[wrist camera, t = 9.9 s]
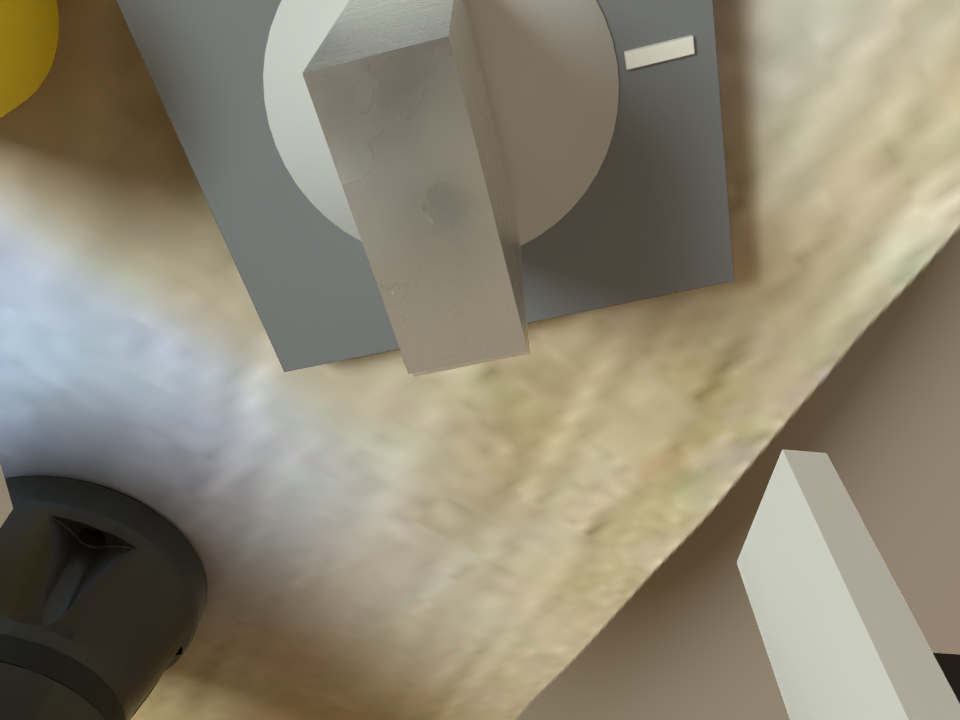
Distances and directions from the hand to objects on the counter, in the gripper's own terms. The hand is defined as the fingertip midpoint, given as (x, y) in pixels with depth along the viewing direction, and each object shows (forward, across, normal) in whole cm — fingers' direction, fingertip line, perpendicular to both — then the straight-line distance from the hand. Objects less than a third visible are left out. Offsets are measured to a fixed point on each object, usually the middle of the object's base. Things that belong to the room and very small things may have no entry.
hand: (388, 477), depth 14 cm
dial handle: (+20, 0, 0) cm, 20 cm away
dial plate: (+23, 0, 0) cm, 23 cm away
